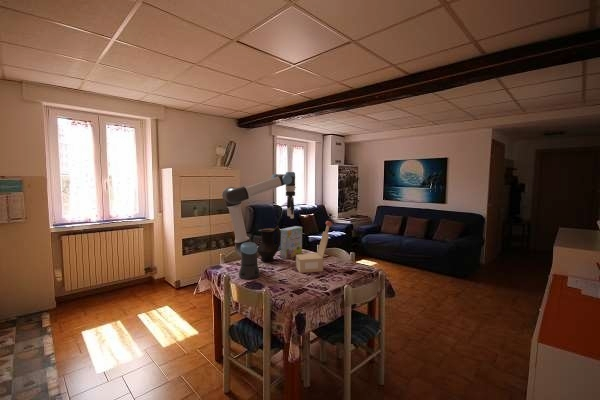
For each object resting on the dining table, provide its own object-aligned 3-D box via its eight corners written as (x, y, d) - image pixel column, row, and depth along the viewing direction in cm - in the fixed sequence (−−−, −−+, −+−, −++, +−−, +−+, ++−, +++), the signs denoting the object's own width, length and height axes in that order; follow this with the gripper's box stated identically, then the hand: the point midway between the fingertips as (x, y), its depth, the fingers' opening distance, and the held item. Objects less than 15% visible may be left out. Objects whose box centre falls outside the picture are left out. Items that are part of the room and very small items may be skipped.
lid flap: (330, 222, 216) (334, 223, 216) (324, 219, 228) (328, 220, 229) (320, 256, 216) (325, 257, 217) (315, 252, 229) (320, 252, 230)
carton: (299, 272, 213) (299, 259, 212) (295, 267, 226) (295, 254, 226) (323, 271, 217) (323, 258, 216) (317, 265, 231) (317, 253, 230)
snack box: (287, 259, 246) (287, 230, 244) (280, 257, 251) (279, 229, 249) (302, 254, 263) (302, 226, 261) (295, 252, 268) (295, 225, 266)
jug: (252, 263, 237) (251, 227, 234) (261, 256, 254) (261, 223, 252) (276, 265, 231) (275, 228, 228) (284, 258, 248) (283, 224, 246)
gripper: (298, 191, 219) (298, 219, 221) (292, 190, 244) (292, 214, 246) (288, 192, 218) (288, 219, 220) (283, 190, 242) (283, 215, 244)
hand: (290, 217), depth 233 cm, fingers open, 13 cm apart
